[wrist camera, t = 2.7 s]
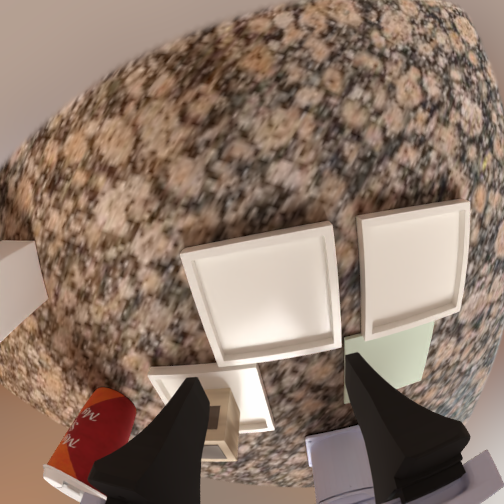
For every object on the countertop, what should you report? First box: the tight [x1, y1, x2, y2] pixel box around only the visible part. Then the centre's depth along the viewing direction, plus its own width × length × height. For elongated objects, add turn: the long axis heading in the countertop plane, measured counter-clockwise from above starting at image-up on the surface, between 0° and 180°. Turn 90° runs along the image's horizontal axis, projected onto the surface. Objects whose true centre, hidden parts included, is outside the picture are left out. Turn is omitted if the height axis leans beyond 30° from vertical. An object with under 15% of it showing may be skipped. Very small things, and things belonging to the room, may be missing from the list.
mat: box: [344, 320, 435, 404], centre depth 22 cm, size 9×9×1 cm
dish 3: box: [356, 199, 470, 342], centre depth 18 cm, size 10×10×1 cm
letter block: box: [201, 388, 240, 461], centre depth 21 cm, size 4×4×6 cm
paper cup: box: [43, 387, 136, 502], centre depth 19 cm, size 8×8×14 cm
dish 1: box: [180, 221, 342, 367], centre depth 19 cm, size 10×10×1 cm
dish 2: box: [147, 363, 275, 433], centre depth 23 cm, size 10×10×1 cm
